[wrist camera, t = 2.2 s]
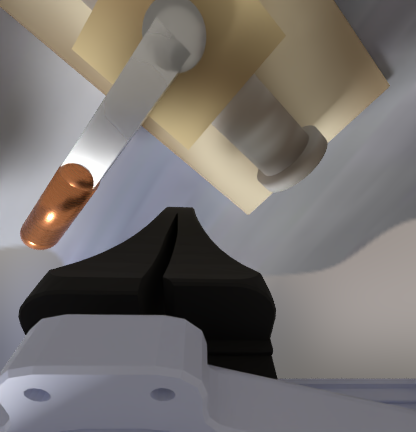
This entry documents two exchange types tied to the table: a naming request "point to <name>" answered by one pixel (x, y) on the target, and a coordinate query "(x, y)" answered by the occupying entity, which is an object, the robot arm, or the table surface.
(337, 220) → the table surface
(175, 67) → the valve lever
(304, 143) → the valve stand
